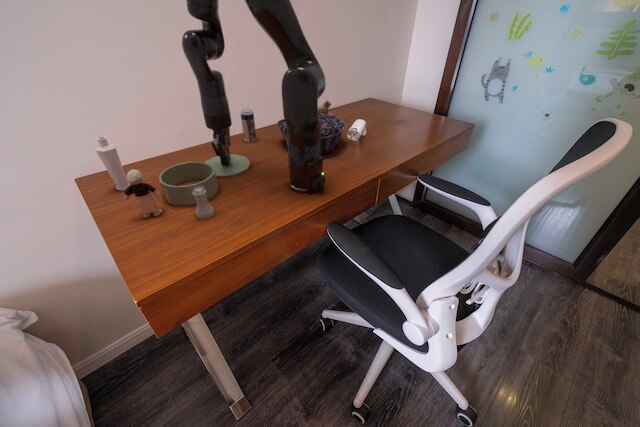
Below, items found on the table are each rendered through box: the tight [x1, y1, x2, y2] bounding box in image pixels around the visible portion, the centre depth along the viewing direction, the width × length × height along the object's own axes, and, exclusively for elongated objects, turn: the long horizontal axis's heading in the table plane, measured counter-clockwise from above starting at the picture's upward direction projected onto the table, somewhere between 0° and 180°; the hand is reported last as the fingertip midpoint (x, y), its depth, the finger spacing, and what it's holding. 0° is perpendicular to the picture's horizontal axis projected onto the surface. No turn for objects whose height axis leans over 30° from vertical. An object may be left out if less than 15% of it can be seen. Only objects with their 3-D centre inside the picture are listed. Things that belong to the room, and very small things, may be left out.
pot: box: [158, 161, 220, 207], centre depth 79 cm, size 14×14×6 cm
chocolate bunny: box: [318, 99, 334, 115], centre depth 130 cm, size 6×8×10 cm
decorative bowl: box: [276, 113, 347, 155], centre depth 109 cm, size 26×28×10 cm
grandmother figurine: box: [123, 169, 163, 219], centre depth 69 cm, size 8×4×13 cm, turn 118°
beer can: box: [239, 108, 257, 143], centre depth 108 cm, size 5×5×12 cm
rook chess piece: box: [192, 186, 215, 219], centre depth 70 cm, size 4×4×8 cm
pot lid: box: [204, 149, 251, 178], centre depth 92 cm, size 15×15×6 cm
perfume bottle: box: [95, 136, 131, 192], centre depth 78 cm, size 5×4×15 cm
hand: (226, 163), depth 93 cm, fingers closed on pot lid, 2 cm apart
